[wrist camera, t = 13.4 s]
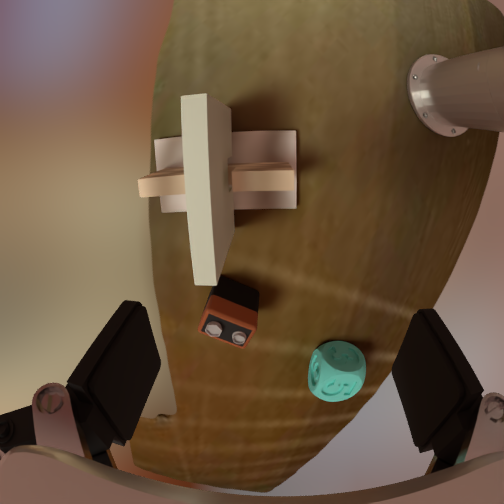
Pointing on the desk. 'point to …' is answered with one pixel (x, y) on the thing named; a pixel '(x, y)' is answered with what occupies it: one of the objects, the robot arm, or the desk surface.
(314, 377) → the decorative dice
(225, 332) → the battery
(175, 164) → the stand
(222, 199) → the beige rectangular panel
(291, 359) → the desk surface
